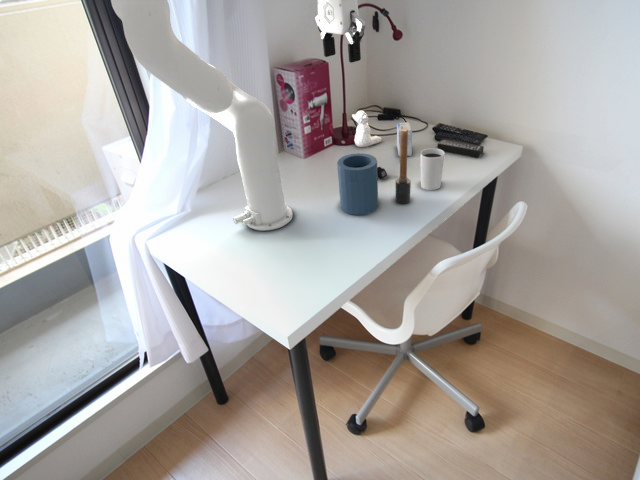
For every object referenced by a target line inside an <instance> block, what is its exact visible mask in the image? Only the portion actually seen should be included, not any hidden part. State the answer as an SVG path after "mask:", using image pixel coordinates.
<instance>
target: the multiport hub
mask: <svg viewBox="0 0 640 480" xmlns="http://www.w3.org/2000/svg"><path fill="white" fill-rule="evenodd" d="M436 148H437V149H441V150H443V151H444V152H446V153H450V154H456V155H461V156H466V157H471V158H476V159H478V158H480V157H482V155H483V154H484V149H485V146H483V145H479V144H472V143H467V142H461V141H456V140H450V139H446V138H443V139H441V140H440V141H438V143H437V147H436Z"/></svg>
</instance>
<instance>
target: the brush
mask: <svg viewBox="0 0 640 480" xmlns="http://www.w3.org/2000/svg"><path fill="white" fill-rule="evenodd" d="M407 144H408V130H407V129H401V136H400V156H399V177H398V178H397V179H395V203H396V204H399V205H406V204H409V203H410V202H411V187H412V186H411V179H410V178H408V175H407V174H408V156H407Z"/></svg>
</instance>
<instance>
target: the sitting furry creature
mask: <svg viewBox="0 0 640 480" xmlns="http://www.w3.org/2000/svg"><path fill="white" fill-rule="evenodd" d="M351 116H352V119H353V120H354V122H357V126H356V130H355V134H354V139H353V142H354V144H355V146H357V147H359V148H368V147H370V146H374V145H376V144H379V143H382V137H380V136H378V135H374V136H372V135H371V131H372V128H371V127H370V126H369V123H368V122H369V117H368V114H367V113H366V112H365V110H361V109H360V110H357V111H356V113H352V114H351Z"/></svg>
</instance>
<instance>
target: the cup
mask: <svg viewBox="0 0 640 480" xmlns="http://www.w3.org/2000/svg"><path fill="white" fill-rule="evenodd" d="M336 164H337V165H336V166H337V178H338V190H339V203H340V204H339V205H340V209H341V211H342V212H344V213H345V214H347V215H352V216H364V215H368V214H371V213H373V212H374V211H376V210H377V209H378V207H379V188H378V187H379V186H378V185H379V183H378V181H379V178H378V177H377V167H378V159H377V158H376V157H375V156H374V155H371V154H367V153H359V152H358V153H350V154H346V155H343V156H341V157H340V158H339V159H338V160H337V162H336Z"/></svg>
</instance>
